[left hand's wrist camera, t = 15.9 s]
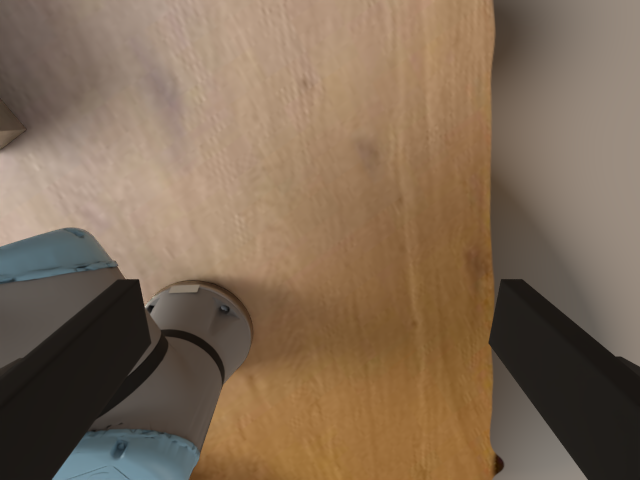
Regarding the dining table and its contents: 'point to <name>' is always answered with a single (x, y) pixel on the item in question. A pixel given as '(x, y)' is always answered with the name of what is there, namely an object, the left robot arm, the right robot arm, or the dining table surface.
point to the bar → (8, 126)
